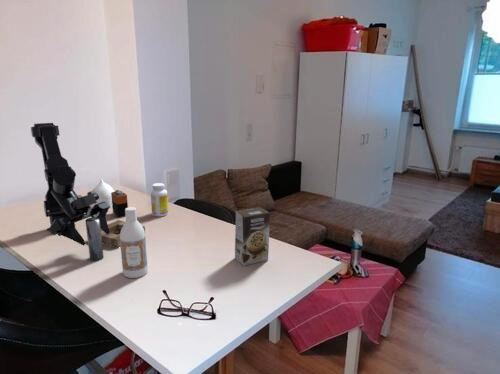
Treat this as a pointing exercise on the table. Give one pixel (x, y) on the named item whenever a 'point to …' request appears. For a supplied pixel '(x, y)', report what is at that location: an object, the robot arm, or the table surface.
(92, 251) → the grey metal cylinder
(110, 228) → the holder block
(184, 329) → the table surface
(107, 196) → the teardrop
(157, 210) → the supplement bottle
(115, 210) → the battery
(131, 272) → the bath foam
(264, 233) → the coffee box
